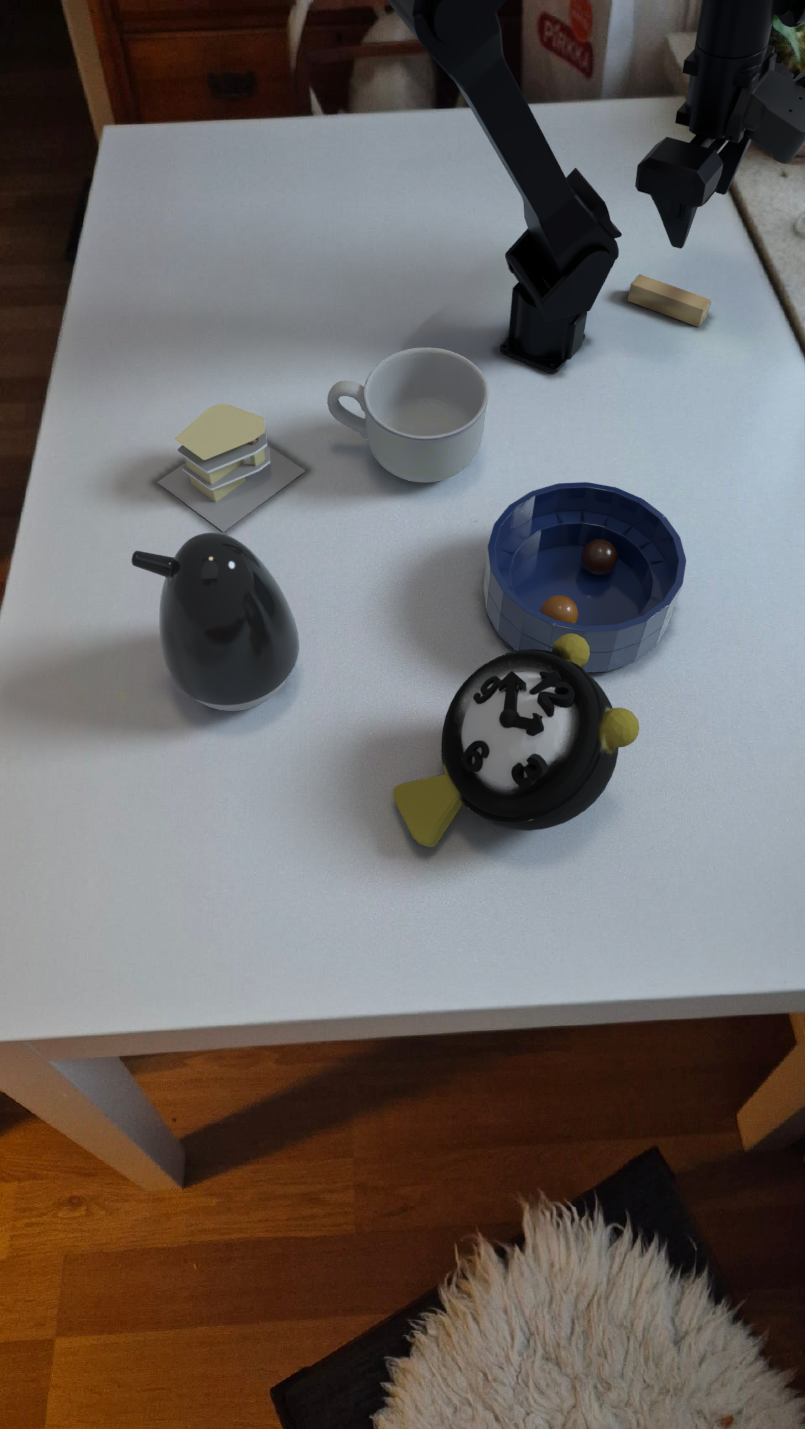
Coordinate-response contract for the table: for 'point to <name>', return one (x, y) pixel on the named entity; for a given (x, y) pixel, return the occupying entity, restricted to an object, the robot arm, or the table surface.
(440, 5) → the robot arm
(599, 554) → the bead
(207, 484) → the stacked layers on plate
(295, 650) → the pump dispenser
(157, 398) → the table surface
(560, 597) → the bead
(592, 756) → the alarm clock
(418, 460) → the teacup
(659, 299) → the stick
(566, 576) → the bowl
